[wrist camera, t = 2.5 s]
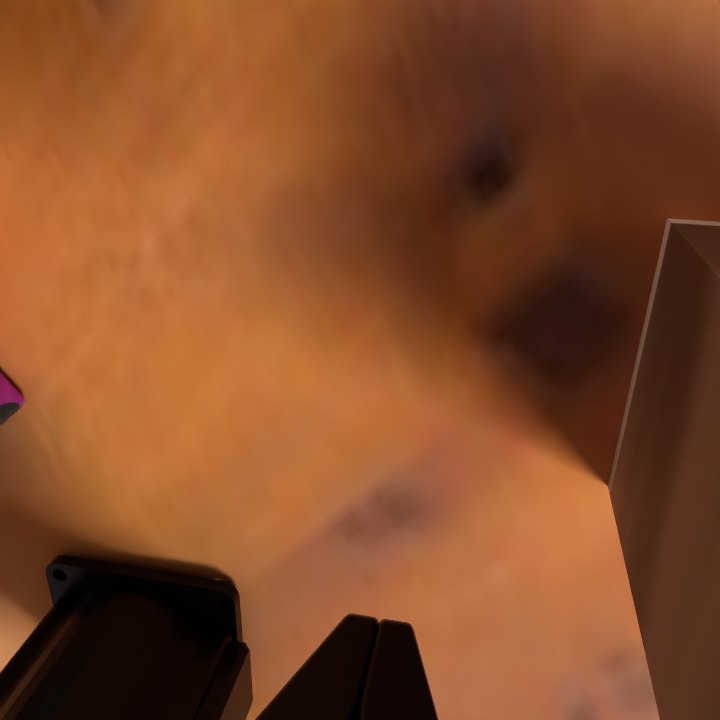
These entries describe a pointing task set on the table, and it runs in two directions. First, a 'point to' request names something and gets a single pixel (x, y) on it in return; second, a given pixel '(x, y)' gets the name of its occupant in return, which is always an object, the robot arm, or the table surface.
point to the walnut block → (676, 475)
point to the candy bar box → (8, 399)
